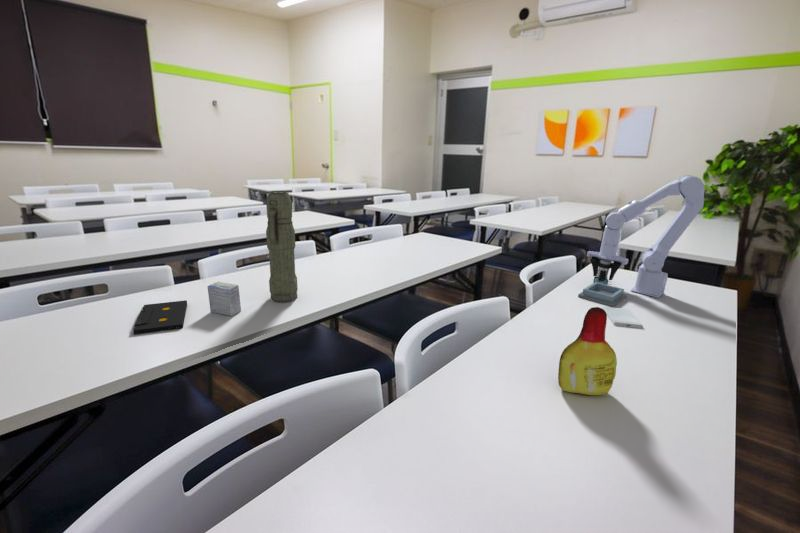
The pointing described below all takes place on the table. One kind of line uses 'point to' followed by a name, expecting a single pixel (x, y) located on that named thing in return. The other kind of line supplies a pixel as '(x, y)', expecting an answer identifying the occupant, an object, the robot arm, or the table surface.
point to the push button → (603, 272)
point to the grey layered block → (224, 298)
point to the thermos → (281, 247)
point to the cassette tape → (161, 317)
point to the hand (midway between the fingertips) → (602, 277)
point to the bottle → (588, 358)
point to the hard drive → (622, 317)
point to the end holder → (603, 294)
